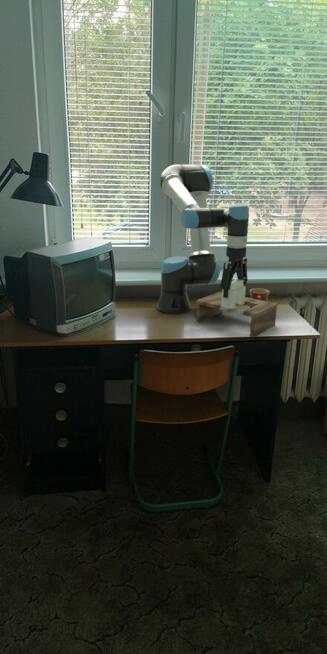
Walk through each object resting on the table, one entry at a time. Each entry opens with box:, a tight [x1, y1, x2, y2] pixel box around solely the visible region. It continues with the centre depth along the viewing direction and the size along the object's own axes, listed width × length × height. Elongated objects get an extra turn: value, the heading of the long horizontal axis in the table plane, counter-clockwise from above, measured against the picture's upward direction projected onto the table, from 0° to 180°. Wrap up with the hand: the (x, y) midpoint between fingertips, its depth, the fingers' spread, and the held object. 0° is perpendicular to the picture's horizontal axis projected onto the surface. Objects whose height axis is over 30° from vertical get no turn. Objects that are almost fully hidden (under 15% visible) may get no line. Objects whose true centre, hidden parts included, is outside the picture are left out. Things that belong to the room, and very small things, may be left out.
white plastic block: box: [221, 278, 246, 309], centre depth 193 cm, size 5×9×10 cm, turn 141°
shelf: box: [195, 290, 278, 338], centre depth 204 cm, size 28×18×10 cm, turn 51°
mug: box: [249, 287, 271, 308], centre depth 217 cm, size 12×9×10 cm
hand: (232, 302), depth 194 cm, fingers closed on white plastic block, 9 cm apart
